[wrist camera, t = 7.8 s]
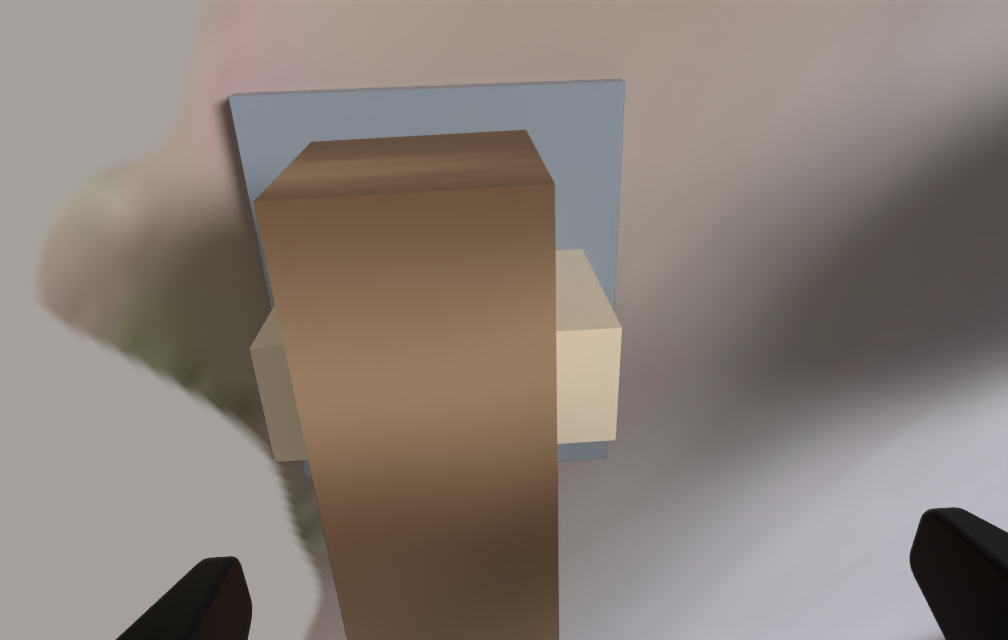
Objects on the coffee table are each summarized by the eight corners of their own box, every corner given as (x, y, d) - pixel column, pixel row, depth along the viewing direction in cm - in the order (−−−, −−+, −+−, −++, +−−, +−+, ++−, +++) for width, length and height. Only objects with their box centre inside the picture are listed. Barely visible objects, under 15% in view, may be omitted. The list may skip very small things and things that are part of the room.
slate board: (618, 78, 18) (686, 112, 13) (601, 443, 23) (644, 574, 18) (237, 92, 17) (144, 134, 12) (310, 462, 23) (267, 602, 17)
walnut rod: (538, 587, 18) (559, 737, 14) (388, 600, 18) (372, 754, 14) (525, 129, 12) (555, 184, 9) (310, 141, 12) (252, 202, 9)
